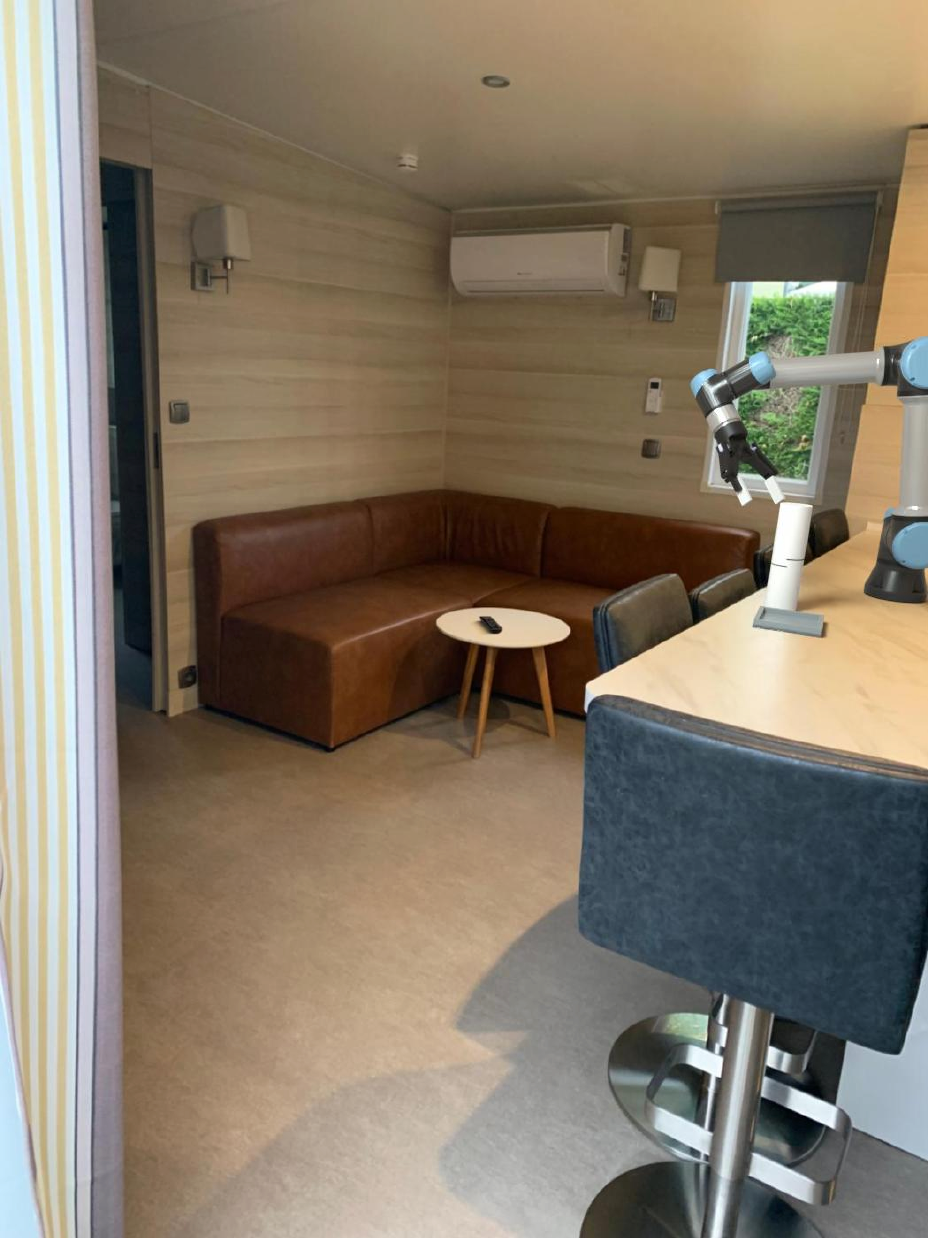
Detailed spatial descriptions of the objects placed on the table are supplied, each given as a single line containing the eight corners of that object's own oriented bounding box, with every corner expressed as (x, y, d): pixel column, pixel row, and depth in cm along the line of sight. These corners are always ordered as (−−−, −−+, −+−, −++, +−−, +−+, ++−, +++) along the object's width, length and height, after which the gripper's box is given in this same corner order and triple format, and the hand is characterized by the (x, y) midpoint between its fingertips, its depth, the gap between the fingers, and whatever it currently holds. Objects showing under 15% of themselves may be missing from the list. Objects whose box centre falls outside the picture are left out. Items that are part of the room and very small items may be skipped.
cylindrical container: (797, 614, 209) (815, 507, 202) (766, 610, 210) (782, 505, 203) (793, 606, 215) (810, 504, 209) (762, 603, 217) (778, 501, 210)
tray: (823, 622, 202) (824, 615, 201) (820, 637, 189) (821, 629, 189) (759, 613, 207) (760, 605, 207) (752, 626, 195) (753, 619, 194)
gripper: (746, 437, 230) (781, 508, 224) (684, 435, 215) (720, 511, 209) (768, 420, 225) (805, 492, 219) (706, 417, 210) (744, 494, 204)
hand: (764, 502), depth 214 cm, fingers open, 13 cm apart
